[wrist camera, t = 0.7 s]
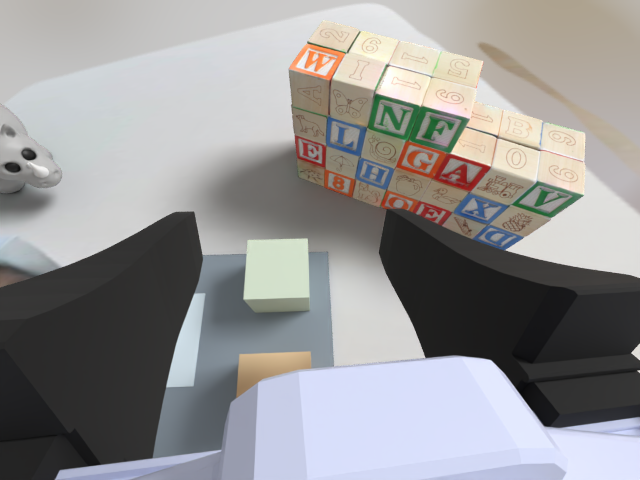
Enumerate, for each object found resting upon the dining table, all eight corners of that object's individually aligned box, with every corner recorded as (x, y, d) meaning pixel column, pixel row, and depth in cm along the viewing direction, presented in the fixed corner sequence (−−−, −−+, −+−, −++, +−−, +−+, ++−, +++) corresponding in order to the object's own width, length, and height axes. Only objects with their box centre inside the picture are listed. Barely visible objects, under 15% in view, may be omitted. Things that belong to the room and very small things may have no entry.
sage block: (309, 310, 24) (309, 297, 20) (255, 312, 24) (243, 299, 20) (308, 260, 26) (307, 238, 22) (257, 261, 26) (247, 240, 22)
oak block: (312, 423, 21) (312, 434, 17) (248, 426, 21) (233, 438, 17) (310, 356, 23) (310, 351, 19) (252, 358, 23) (239, 354, 19)
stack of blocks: (511, 201, 30) (628, 97, 19) (503, 253, 28) (632, 168, 16) (319, 137, 33) (322, 15, 22) (295, 178, 31) (286, 64, 20)
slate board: (341, 506, 19) (341, 509, 19) (59, 522, 19) (52, 526, 18) (327, 253, 27) (327, 251, 27) (127, 259, 26) (123, 257, 26)
